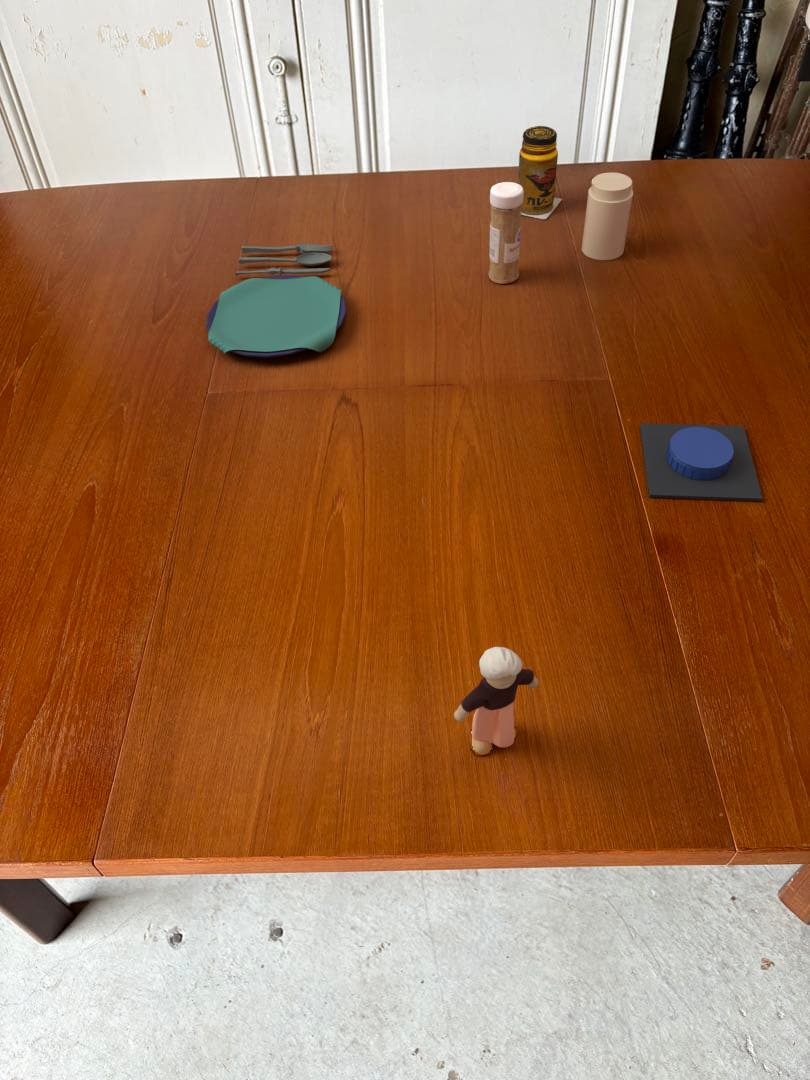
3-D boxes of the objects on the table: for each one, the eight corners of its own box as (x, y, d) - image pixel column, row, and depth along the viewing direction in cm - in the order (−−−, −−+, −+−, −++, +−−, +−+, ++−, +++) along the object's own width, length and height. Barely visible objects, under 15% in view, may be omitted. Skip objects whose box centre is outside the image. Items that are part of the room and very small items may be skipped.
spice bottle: (518, 285, 119) (523, 196, 109) (487, 285, 120) (489, 196, 110) (518, 268, 122) (523, 180, 112) (488, 268, 123) (490, 180, 113)
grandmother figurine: (476, 774, 70) (479, 699, 60) (449, 742, 72) (447, 664, 62) (543, 725, 72) (556, 645, 63) (515, 695, 75) (523, 614, 65)
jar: (622, 238, 127) (633, 170, 119) (625, 260, 122) (637, 191, 114) (580, 238, 127) (588, 171, 119) (582, 260, 123) (590, 191, 115)
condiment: (545, 220, 132) (552, 144, 122) (497, 210, 134) (500, 135, 125) (562, 200, 136) (569, 125, 127) (515, 191, 139) (519, 117, 130)
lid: (670, 479, 91) (673, 467, 90) (663, 437, 96) (666, 425, 94) (734, 481, 90) (739, 469, 89) (724, 439, 95) (728, 427, 93)
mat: (742, 428, 97) (743, 425, 96) (761, 501, 89) (762, 498, 88) (639, 426, 98) (640, 423, 97) (649, 497, 90) (649, 494, 90)
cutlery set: (196, 369, 110) (192, 355, 108) (232, 253, 130) (229, 240, 128) (342, 365, 109) (340, 351, 107) (356, 249, 129) (355, 235, 127)
